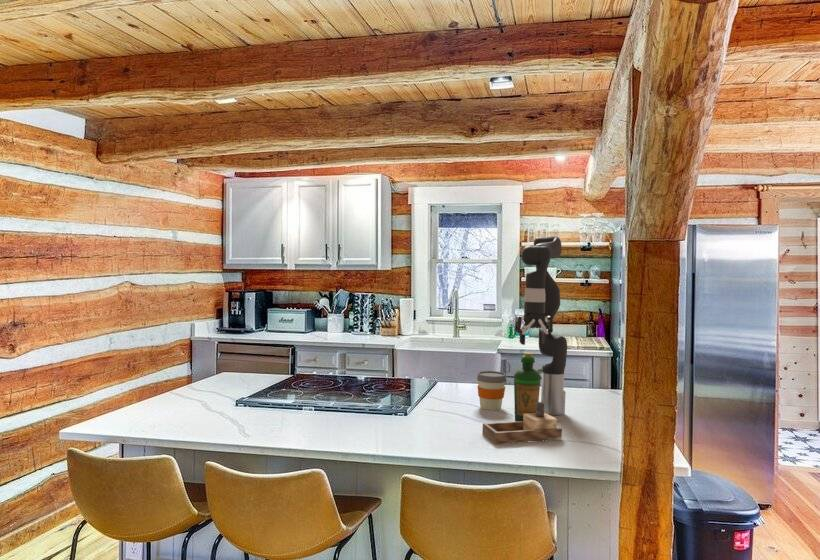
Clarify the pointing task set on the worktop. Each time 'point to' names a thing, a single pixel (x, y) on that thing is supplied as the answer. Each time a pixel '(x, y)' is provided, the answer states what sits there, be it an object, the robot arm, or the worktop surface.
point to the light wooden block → (539, 419)
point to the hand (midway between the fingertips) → (533, 344)
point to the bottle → (526, 387)
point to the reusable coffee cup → (491, 389)
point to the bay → (517, 433)
